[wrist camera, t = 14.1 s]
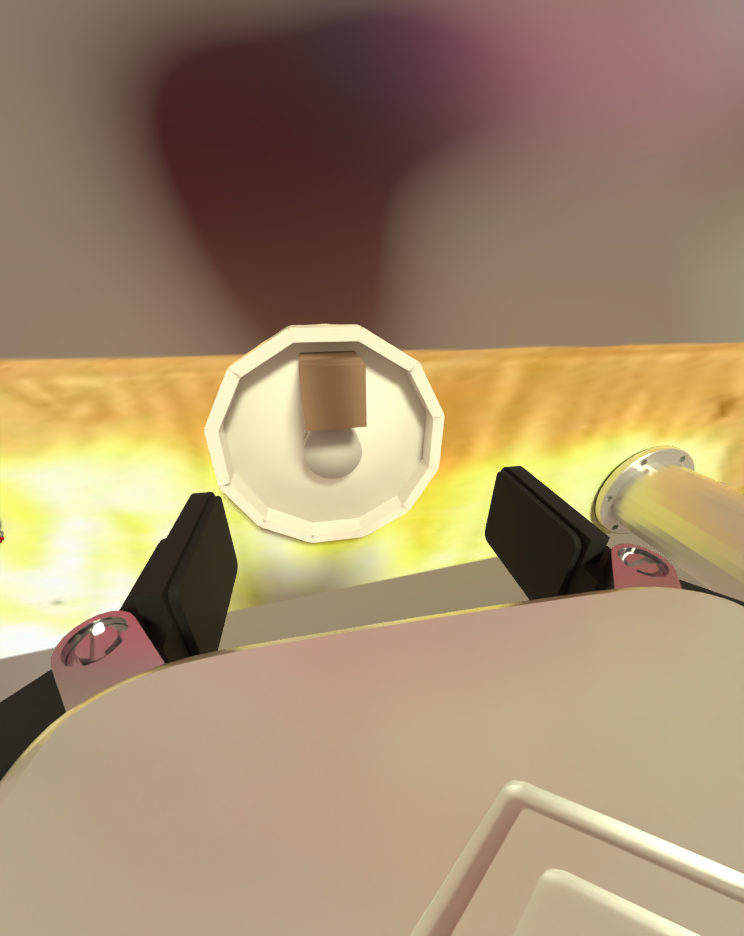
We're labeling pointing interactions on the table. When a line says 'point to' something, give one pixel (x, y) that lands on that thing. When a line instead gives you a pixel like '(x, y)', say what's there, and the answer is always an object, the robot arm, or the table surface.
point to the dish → (280, 425)
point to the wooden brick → (333, 390)
